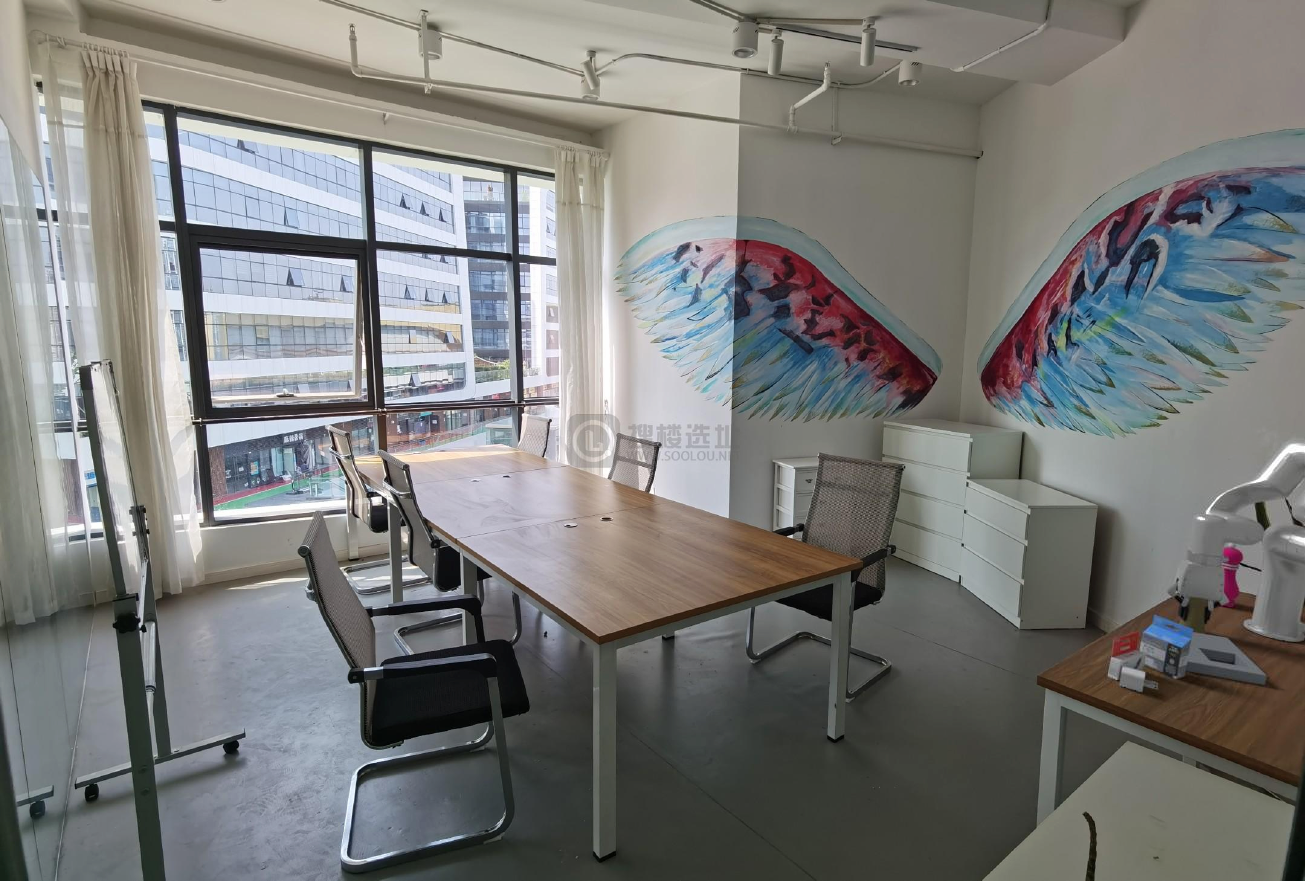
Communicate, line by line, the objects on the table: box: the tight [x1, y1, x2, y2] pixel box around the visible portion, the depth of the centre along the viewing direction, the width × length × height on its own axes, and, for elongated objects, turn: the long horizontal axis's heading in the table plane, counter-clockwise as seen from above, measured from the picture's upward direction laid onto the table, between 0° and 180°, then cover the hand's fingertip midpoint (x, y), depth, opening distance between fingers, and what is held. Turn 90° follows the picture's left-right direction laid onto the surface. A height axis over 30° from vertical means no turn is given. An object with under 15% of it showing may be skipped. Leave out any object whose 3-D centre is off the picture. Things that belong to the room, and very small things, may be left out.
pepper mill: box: [1221, 543, 1244, 608], centre depth 203 cm, size 7×7×20 cm
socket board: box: [1173, 628, 1268, 686], centre depth 167 cm, size 16×22×2 cm
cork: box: [1178, 597, 1208, 634], centre depth 183 cm, size 6×6×11 cm
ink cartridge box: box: [1107, 631, 1146, 681], centre depth 156 cm, size 2×11×10 cm, turn 117°
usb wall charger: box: [1119, 666, 1159, 693], centre depth 150 cm, size 4×7×4 cm, turn 50°
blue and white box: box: [1139, 614, 1193, 680], centre depth 159 cm, size 9×4×12 cm, turn 23°
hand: (1193, 619), depth 183 cm, fingers closed on cork, 4 cm apart
